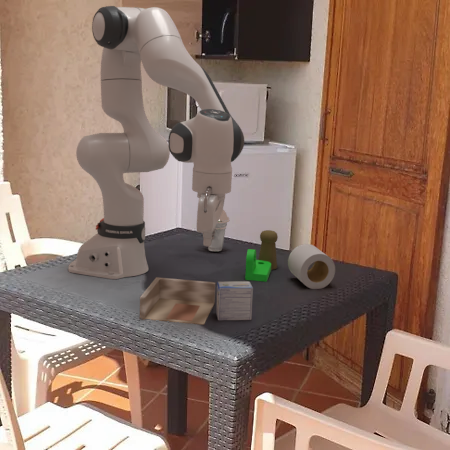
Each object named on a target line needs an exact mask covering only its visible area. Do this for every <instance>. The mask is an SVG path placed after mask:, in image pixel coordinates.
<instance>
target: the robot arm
mask: <svg viewBox="0 0 450 450" xmlns="http://www.w3.org/2000/svg"><path fill="white" fill-rule="evenodd" d="M91 31H92V36H93V39H94V40H95V42H96V44H97V45H98V46H100V47H102V53H101V61H100V96H101V97H100V99H101V108H102V110H103V112H104V114H106V115H107V116H108V117H109V118H111V119H114V121H117V122H119V123H120V124H121V126H122V129H123V132H98V133H94V134H93V133H92V134H89V135H84V136H83V137H82V138H81V139H80V140H79V142H78V144H77V145H76V146H77V147H76V151H75V153H76V155H75V156H76V160H77V162H78V165H79V166H80V168H81V169H83V170H84V171H85V172H86V173H87V174H89V175H90V176H91V177H92V178H93V180H95V182H96V183H97V185H98V188H99V189H100V192H101V195H102V203H103V205H102V206H103V207H102V208H103V218H101V219H100V220H99V222H97V224H96V225H95V231H96V234H95V235H93V236H92V237H91V238H89V239H88V240H86V241H85V242H84V243H82V244H81V245H80V247H79V248H78V250H77V253H76V259H74V260H73V261H71V262H70V263H69V264H68V269H67V270H68V272H69V273H73V274H80V275H85V276H91V277H96V278H104V279H108V280H110V279H111V280H119V279H122V278H129V277H136V276H141V275H143V274H145V273H147V272H148V271H149V265H148V262H147V258H146V251H145V239H146V222H145V220H144V214H145V213H144V203H145V201H144V199H145V198H144V195H143V193H142V192H141V191H140V189H138V188H137V187H135V186H133V185H131V184H129V183H126V181H125V180H124V174H130V173H133V174H134V173H149V172H150V173H151V172H153V171H159V170H161V169H164V168H165V167H166V166H167V164H168V162H169V159H170V156H171V155H172V157H173V158H174V159H175V160H176V161H178V162H179V163H180V162H182V163H185V164H186V163H187V164H189V163H193V167H192V180H191V181H192V182H191V184H192V185H191V189H192V191H193V192H196V193H197V198H198V203H197V211H196V212H197V213H196V215H197V216H196V232H197V233H201V234H202V237H203V241H202V242H203V243H202V244H203V247H208V246H211V244H212V240H213V239H214V237H215V229H216V224H217V222H218V220H219V218H220V216H221V214H222V211H223V210H224V205H225V199H226V194H230V193H231V192H232V178H233V167H232V163H233V162H235V160H236V159H237V158H239V156H240V155H241V154H242V152H243V149H244V147H245V136H244V132H243V131H242V130H243V129H241V126H240V125H239V123H238V122H237V121H236V120H235V119H234V118H233V117H232V115H231V113H230V111H229V110H228V108H227V105H226V104H225V102H224V100H223V99H222V97H221V94H220V93H219V91H218V90H217V88H216V86H215V84H214V82H213V81H212V78H211V77H210V75H209V73H208V72H207V70H206V69H205V68H203V67H202V66H201V65H200V64H199V63H198V62H197V61H195V59H194V58H193V57H192V56H191V54H190V53H189V52H188V50H187V48H186V46H185V45H184V42H183V40H182V36H181V34H180V32H179V30H178V28H177V26H176V24H175V22H174V21H173V19H172V17H171V16H170V14H169V13H168V12H167V10H165V9H164V8H161V7H157V6H152V7H147V8H143V7H136V6H135V7H129V6H114V5H108V6H101V7H100V8H99V9H97V11H96V12H95V14H94V15H93V18H92V24H91ZM141 64H142V65H141ZM141 66H143V69H144V71H145V72H146V74H147V76H148V77H149V78H150V80H152V81H153V82H155V83H156V84H158V85H160V86H164V87H167V88H170V89H174V90H176V91H179V92H181V93H184V94H186V95H188V96H190V97H191V98H192V99H194V100H195V102H196V103H197V104H198V107H199V108H200V110H199V111H197V113H196V115H195V116H194V117H193V118H192V117H191V118H190V119H188V120H184V121H181V122H177V123H175V124H174V125H173V127H172V128H171V130H170V132H169V134H168V140H166V138H165V137H164V136H163V135H162V134H160V133H159V132H158V131H157V130H156V129H155V128H154V127H153V126H152V124H151V123H150V121H149V119H148V117H147V114H146V111H145V106H144V99H143V82H142V81H143V79H142V67H141ZM170 154H171V155H170Z"/></svg>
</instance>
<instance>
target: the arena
mask: <svg viewBox="0 0 450 450" xmlns="http://www.w3.org/2000/svg"><path fill="white" fill-rule="evenodd" d="M215 302H216V282H213V281H203V280H191V279H179V278H178V279H177V278H168V277H158V276H156V277H155V278H154V280H153V281H151V283H150V285H148V287H147V288H146V289H145V291H144V292H143V293H142V294H141V296H140V297H139V319H140V318H142V319H141V320H145V319H151V320H150V321H156V320H159V321H158V322H167V321H169V322H170V323H177V322H179V324H187V325H189V324H191V325H200V326H201V325H203V326H205V324H206V322H207V320H208V317H209V316H210V313H211V311H212V309H213V308H214V306H215ZM169 322H168V323H169Z"/></svg>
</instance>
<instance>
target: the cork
mask: <svg viewBox="0 0 450 450" xmlns="http://www.w3.org/2000/svg"><path fill="white" fill-rule="evenodd" d="M278 237H279V236H278V233H277V232H276V231H274V230H270V229H269V230H262V231H261V232H260V234H259V239H260V241H261V243H260V247H259V249H260V250H259V253H258V258H257V260H262V261H268V262H270V263H271V271H272V270H276V269H277V268H278V262H277V261H278V259H277V247H276V242H277V241H278V239H279V238H278Z"/></svg>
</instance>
